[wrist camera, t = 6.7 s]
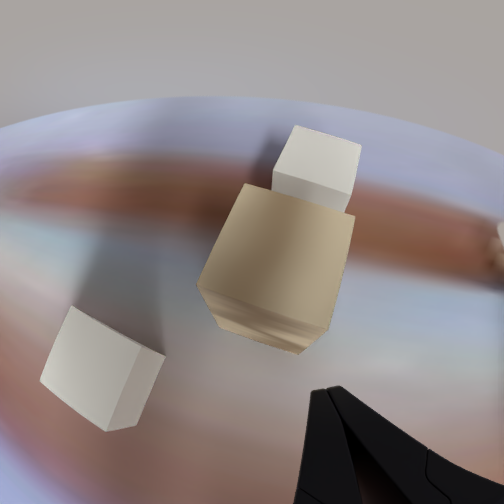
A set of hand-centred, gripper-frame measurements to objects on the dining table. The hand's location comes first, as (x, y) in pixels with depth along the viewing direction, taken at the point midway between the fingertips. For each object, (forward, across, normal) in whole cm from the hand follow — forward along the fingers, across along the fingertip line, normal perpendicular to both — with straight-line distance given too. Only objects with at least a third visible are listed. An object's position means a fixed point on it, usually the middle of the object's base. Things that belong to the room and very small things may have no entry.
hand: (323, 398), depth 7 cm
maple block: (+14, 0, +4) cm, 14 cm away
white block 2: (+20, -5, -3) cm, 21 cm away
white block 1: (+11, +12, +7) cm, 18 cm away
